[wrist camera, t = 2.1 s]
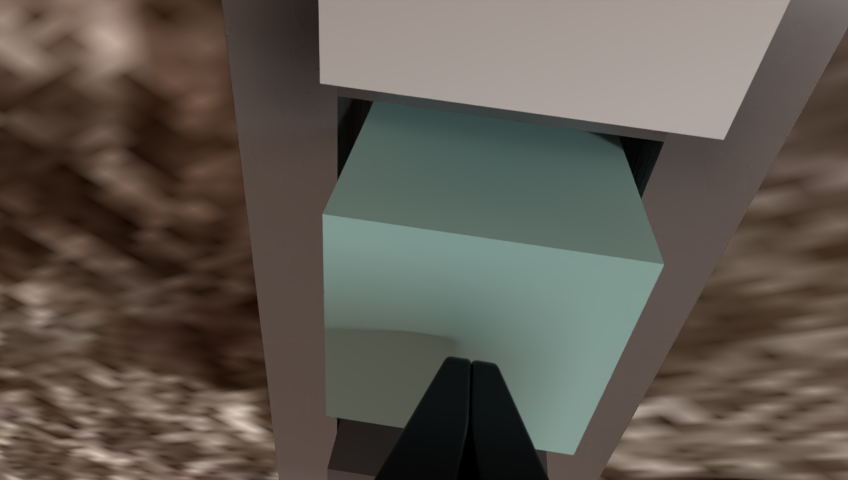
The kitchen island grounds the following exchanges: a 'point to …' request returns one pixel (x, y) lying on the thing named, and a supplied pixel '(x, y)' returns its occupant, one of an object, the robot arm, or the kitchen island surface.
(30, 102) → the kitchen island surface
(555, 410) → the key teal
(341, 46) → the key grey
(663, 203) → the key panel
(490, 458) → the robot arm
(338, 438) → the key black
